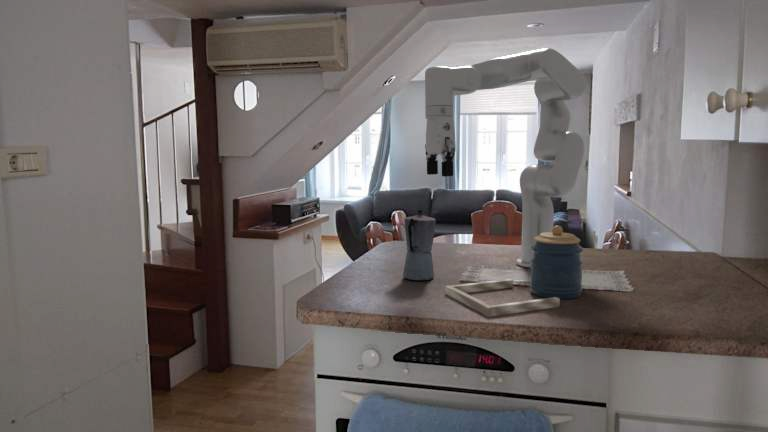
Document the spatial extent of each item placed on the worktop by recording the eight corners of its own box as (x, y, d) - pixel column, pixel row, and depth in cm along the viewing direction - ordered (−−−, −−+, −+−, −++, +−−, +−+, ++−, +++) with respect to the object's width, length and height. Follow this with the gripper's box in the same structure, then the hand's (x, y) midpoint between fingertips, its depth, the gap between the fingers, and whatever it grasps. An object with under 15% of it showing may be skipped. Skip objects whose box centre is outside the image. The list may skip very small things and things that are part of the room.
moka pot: (441, 273, 167) (441, 207, 165) (428, 286, 153) (428, 213, 150) (410, 271, 170) (410, 206, 168) (394, 283, 156) (394, 212, 153)
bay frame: (509, 286, 152) (509, 278, 152) (559, 306, 133) (559, 298, 132) (445, 293, 145) (445, 286, 145) (488, 316, 126) (488, 307, 126)
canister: (519, 289, 148) (520, 223, 146) (558, 284, 153) (560, 220, 151) (552, 302, 136) (554, 230, 134) (593, 296, 142) (596, 227, 139)
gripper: (466, 111, 147) (466, 176, 150) (438, 114, 163) (438, 173, 166) (440, 111, 145) (440, 177, 147) (414, 114, 161) (415, 174, 163)
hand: (439, 175), depth 157 cm, fingers open, 9 cm apart
